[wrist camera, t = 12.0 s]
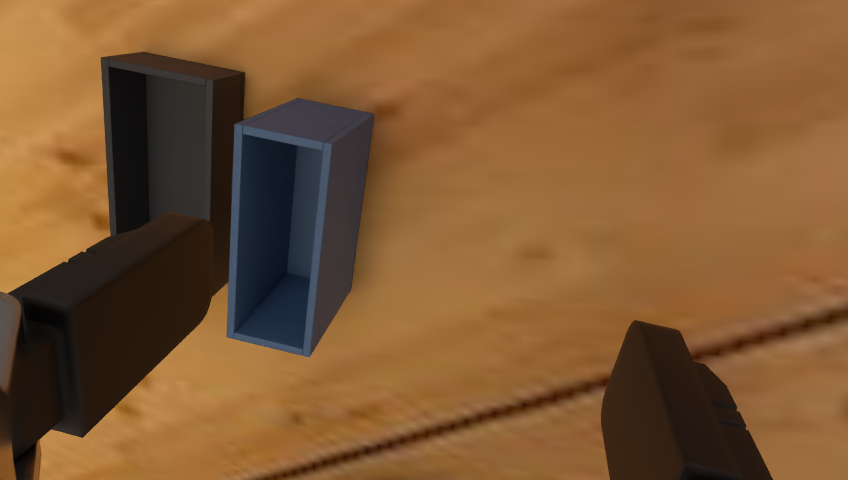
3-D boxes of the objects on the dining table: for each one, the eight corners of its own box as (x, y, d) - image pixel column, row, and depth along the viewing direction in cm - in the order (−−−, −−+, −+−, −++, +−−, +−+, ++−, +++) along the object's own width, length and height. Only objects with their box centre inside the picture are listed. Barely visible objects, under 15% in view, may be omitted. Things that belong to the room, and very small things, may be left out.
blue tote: (296, 97, 40) (234, 123, 32) (374, 113, 40) (332, 144, 31) (282, 274, 46) (226, 337, 37) (350, 290, 45) (309, 357, 37)
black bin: (143, 51, 41) (100, 57, 37) (245, 72, 40) (213, 79, 36) (148, 253, 47) (112, 277, 43) (236, 274, 47) (208, 300, 42)
